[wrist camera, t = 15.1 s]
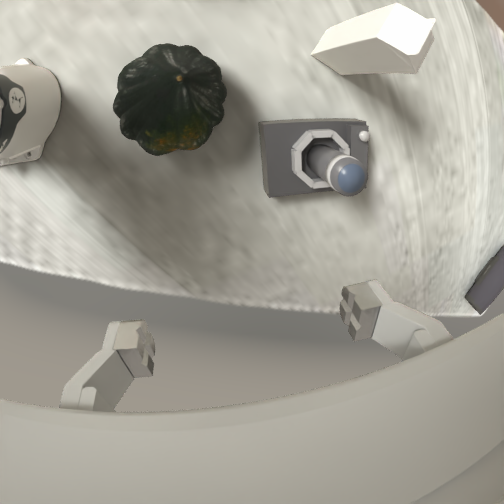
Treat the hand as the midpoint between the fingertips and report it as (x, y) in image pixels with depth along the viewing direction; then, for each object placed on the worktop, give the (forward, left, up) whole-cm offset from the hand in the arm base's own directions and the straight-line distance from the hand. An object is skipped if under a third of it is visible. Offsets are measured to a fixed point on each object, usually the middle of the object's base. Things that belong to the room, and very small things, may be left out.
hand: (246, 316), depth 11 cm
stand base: (+15, -2, -35) cm, 38 cm away
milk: (+20, +15, -35) cm, 43 cm away
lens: (+15, -2, -31) cm, 35 cm away
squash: (-5, +9, -35) cm, 37 cm away
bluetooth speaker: (+78, -39, -35) cm, 94 cm away
